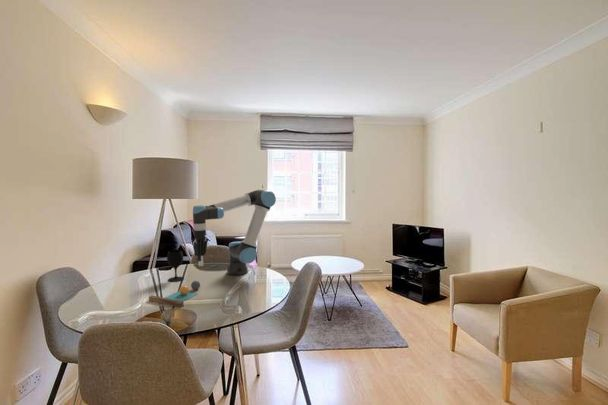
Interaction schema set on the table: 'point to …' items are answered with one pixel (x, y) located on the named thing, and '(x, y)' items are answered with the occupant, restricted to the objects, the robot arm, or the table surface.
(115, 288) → the table surface
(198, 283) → the charcoal ball
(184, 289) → the orange ball
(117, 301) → the table surface
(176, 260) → the wine glass
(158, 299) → the stopper wall
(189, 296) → the teal mark
